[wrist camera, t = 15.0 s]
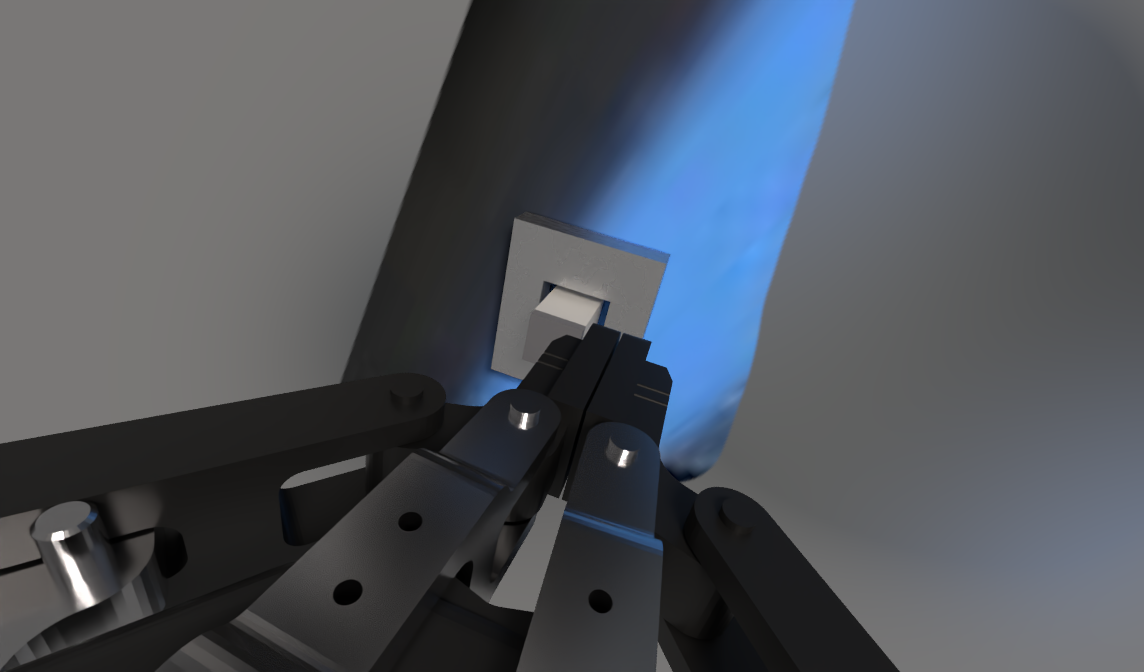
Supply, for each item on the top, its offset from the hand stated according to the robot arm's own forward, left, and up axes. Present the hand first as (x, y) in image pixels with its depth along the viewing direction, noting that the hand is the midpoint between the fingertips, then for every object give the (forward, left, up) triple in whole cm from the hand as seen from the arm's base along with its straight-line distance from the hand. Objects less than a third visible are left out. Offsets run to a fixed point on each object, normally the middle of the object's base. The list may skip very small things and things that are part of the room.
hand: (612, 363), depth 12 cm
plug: (+12, -6, -27) cm, 30 cm away
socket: (+12, -6, -27) cm, 30 cm away
